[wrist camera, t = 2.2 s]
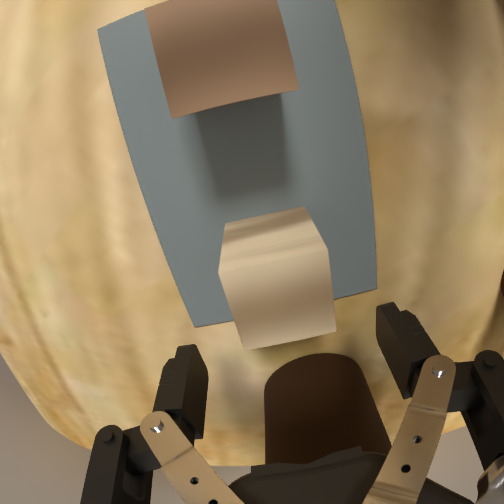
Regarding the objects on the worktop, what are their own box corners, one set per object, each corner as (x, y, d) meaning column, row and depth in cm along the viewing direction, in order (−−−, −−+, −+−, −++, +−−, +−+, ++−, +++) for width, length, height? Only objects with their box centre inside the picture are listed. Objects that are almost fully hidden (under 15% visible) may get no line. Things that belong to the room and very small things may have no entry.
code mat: (98, 30, 14) (97, 29, 13) (324, -26, 13) (325, -27, 12) (194, 325, 23) (194, 327, 23) (376, 287, 22) (377, 288, 22)
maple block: (224, 223, 20) (218, 272, 14) (304, 205, 19) (327, 249, 14) (244, 289, 22) (244, 350, 16) (315, 274, 21) (336, 331, 16)
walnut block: (174, 35, 14) (144, 8, 9) (261, 15, 14) (270, -22, 8) (194, 113, 16) (171, 119, 11) (280, 93, 16) (299, 89, 11)
